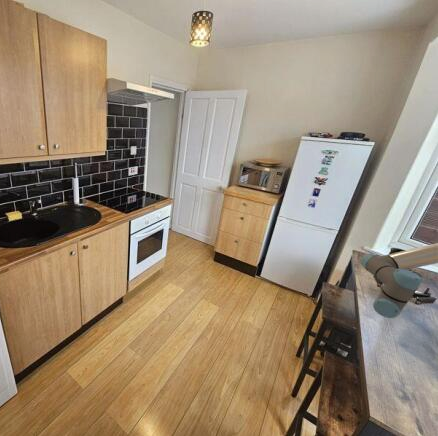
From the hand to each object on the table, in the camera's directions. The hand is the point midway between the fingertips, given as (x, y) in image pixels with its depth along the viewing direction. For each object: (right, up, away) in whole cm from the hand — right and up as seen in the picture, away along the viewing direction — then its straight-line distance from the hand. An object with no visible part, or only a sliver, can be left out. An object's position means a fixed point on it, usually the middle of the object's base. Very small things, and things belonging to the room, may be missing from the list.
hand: (406, 281), depth 110 cm
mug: (+27, -1, +32) cm, 42 cm away
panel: (+7, -9, +9) cm, 14 cm away
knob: (+7, -6, +8) cm, 12 cm away
